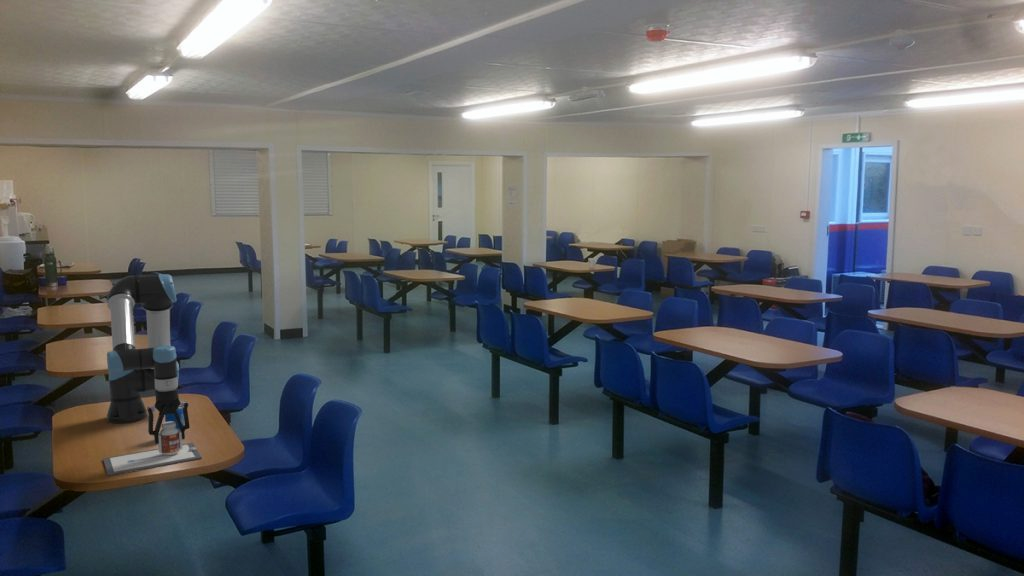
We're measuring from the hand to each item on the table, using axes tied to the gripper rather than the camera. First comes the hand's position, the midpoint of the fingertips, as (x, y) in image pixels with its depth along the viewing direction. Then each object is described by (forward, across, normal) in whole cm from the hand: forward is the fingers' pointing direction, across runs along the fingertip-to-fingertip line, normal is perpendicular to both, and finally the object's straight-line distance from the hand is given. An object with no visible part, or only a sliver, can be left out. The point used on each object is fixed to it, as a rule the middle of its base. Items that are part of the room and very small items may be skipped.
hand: (170, 449), depth 269 cm
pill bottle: (+1, 0, 0) cm, 1 cm away
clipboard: (+2, -6, 0) cm, 7 cm away
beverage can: (+3, +5, +21) cm, 22 cm away
